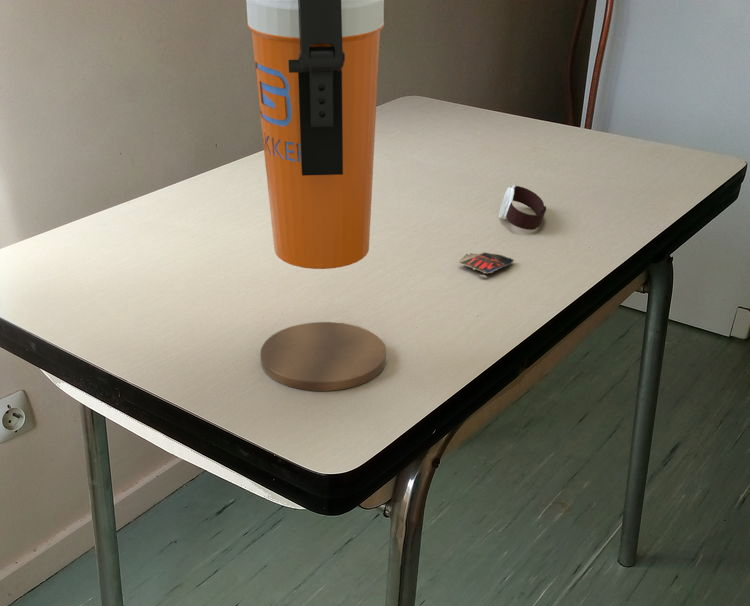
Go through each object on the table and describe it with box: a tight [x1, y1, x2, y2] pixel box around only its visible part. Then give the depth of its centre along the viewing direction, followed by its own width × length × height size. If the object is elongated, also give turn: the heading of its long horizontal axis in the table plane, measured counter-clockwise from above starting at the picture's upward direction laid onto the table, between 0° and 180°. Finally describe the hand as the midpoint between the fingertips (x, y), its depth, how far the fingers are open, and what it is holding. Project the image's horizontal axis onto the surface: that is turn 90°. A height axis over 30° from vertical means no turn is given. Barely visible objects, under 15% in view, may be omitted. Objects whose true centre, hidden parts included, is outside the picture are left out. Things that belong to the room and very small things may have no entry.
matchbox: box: [458, 251, 515, 279], centre depth 95 cm, size 5×5×1 cm
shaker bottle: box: [245, 0, 385, 270], centre depth 69 cm, size 9×9×20 cm
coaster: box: [260, 321, 387, 392], centre depth 80 cm, size 10×10×1 cm
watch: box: [498, 185, 547, 231], centre depth 103 cm, size 8×5×4 cm, turn 177°
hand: (318, 149), depth 70 cm, fingers closed on shaker bottle, 9 cm apart
